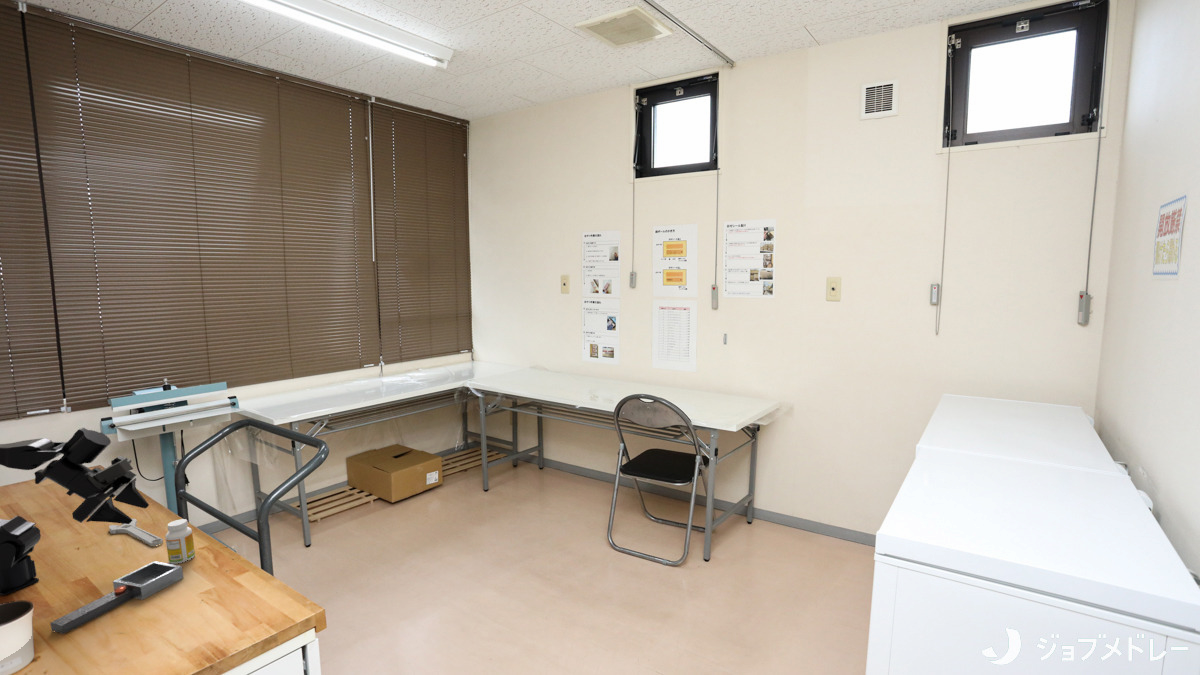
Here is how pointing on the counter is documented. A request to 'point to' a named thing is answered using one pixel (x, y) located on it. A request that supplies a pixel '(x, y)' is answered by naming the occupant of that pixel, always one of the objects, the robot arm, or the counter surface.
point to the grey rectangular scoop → (123, 593)
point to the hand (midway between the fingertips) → (139, 514)
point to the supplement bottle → (179, 542)
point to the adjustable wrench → (136, 533)
